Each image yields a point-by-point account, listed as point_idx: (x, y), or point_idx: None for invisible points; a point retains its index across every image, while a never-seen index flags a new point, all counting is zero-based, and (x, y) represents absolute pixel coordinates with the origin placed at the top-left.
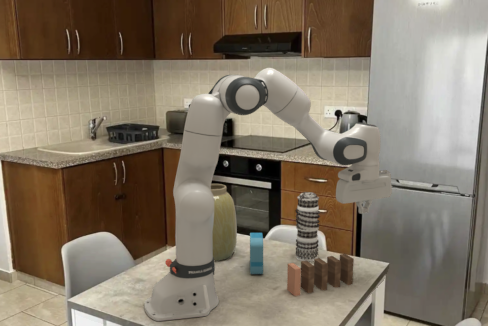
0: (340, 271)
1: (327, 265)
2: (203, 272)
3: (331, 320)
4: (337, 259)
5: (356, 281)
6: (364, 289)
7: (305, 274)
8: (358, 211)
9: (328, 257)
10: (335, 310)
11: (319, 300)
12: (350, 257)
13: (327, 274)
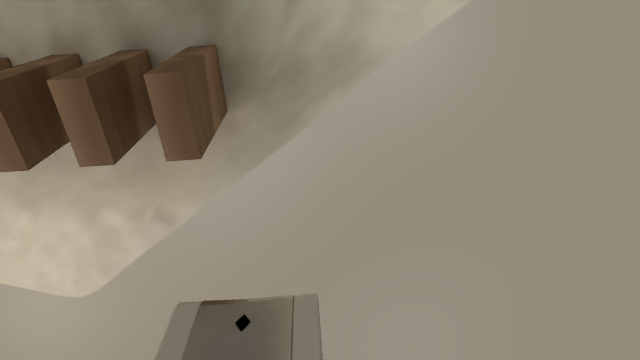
0: (137, 141)
1: (33, 165)
2: None
3: (59, 291)
4: (101, 139)
5: (256, 93)
6: (251, 164)
7: None
8: (173, 310)
9: (52, 94)
10: (88, 253)
11: (47, 185)
12: (191, 137)
13: (63, 145)
